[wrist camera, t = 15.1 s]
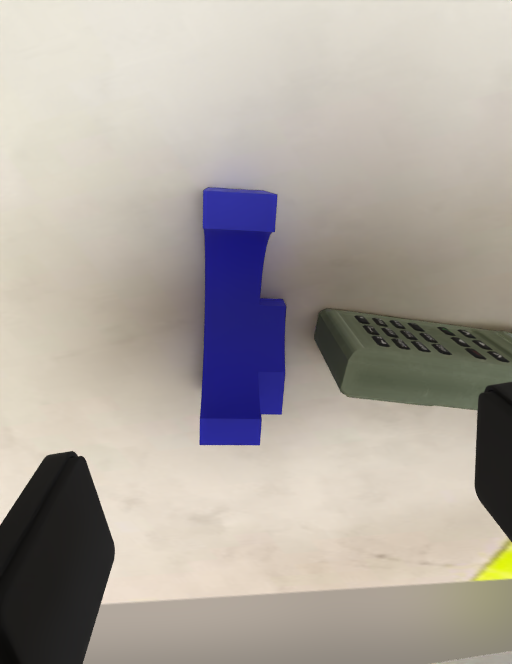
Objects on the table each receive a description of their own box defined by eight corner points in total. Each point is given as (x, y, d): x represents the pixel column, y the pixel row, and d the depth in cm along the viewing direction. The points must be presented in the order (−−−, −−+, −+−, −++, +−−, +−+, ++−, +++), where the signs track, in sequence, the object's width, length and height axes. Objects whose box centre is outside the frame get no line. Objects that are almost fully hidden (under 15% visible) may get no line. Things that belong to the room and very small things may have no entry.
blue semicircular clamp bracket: (275, 390, 27) (289, 445, 22) (204, 388, 27) (199, 444, 21) (291, 192, 23) (313, 196, 18) (208, 187, 23) (203, 190, 17)
